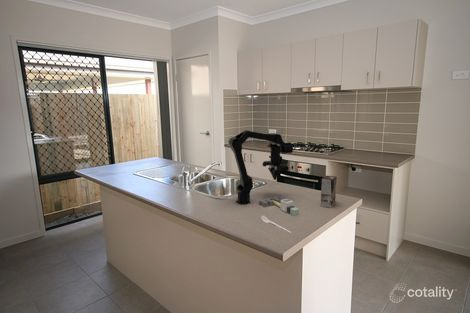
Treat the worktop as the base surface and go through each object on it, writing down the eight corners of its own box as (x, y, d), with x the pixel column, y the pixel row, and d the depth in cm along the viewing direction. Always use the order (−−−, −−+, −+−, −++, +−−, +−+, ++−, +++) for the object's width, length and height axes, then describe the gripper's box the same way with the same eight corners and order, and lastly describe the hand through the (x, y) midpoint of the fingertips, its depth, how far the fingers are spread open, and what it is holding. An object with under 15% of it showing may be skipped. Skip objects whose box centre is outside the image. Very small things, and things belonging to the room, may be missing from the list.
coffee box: (331, 208, 158) (333, 180, 155) (320, 206, 161) (321, 178, 158) (335, 203, 165) (337, 176, 162) (324, 201, 169) (325, 174, 166)
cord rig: (259, 204, 165) (259, 199, 164) (280, 199, 172) (280, 194, 172) (284, 218, 145) (284, 212, 144) (307, 212, 152) (308, 206, 152)
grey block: (280, 209, 156) (280, 199, 155) (287, 207, 159) (287, 198, 158) (286, 212, 152) (286, 202, 151) (293, 210, 154) (293, 201, 153)
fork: (288, 235, 128) (288, 231, 128) (259, 219, 144) (259, 216, 144) (293, 233, 130) (293, 229, 130) (264, 218, 146) (264, 214, 145)
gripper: (296, 155, 165) (295, 181, 168) (276, 150, 181) (276, 174, 184) (281, 157, 160) (280, 184, 162) (262, 152, 176) (261, 177, 178)
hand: (274, 179), depth 172 cm, fingers closed
